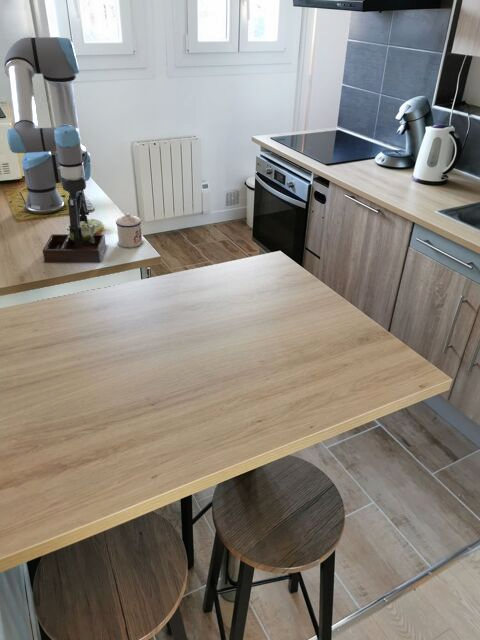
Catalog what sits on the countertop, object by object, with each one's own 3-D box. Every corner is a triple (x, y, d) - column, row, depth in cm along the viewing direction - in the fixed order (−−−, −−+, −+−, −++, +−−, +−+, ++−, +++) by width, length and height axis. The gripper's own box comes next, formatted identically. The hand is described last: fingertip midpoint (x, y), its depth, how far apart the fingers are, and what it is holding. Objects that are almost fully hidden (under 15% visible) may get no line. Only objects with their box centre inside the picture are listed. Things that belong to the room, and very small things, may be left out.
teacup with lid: (138, 249, 189) (136, 219, 183) (114, 247, 190) (111, 217, 184) (147, 235, 199) (145, 207, 193) (125, 233, 200) (122, 205, 194)
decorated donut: (96, 238, 196) (95, 229, 194) (71, 234, 198) (69, 225, 196) (109, 227, 204) (107, 219, 202) (84, 224, 206) (83, 215, 204)
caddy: (53, 245, 190) (51, 234, 187) (105, 245, 191) (104, 234, 188) (44, 262, 179) (42, 250, 176) (100, 262, 180) (98, 250, 178)
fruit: (74, 251, 177) (66, 229, 173) (70, 242, 185) (62, 221, 180) (100, 242, 180) (92, 220, 175) (95, 233, 187) (87, 213, 183)
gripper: (68, 166, 179) (77, 226, 191) (53, 188, 160) (64, 253, 172) (90, 166, 179) (98, 226, 191) (77, 188, 160) (87, 253, 173)
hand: (82, 239), depth 182 cm, fingers closed on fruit, 10 cm apart
